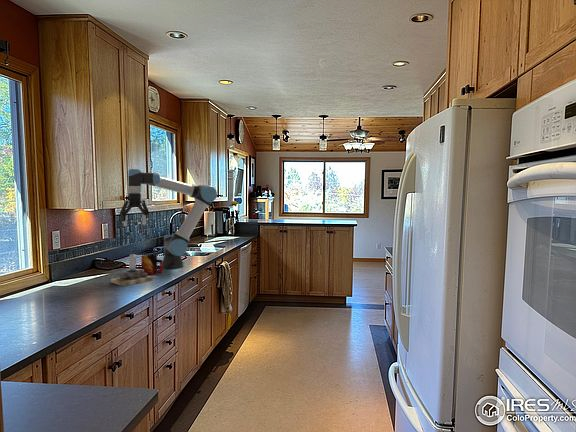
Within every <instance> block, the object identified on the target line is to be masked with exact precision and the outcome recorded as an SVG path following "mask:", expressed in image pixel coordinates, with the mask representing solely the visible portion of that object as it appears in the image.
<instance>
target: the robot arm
mask: <svg viewBox="0 0 576 432" xmlns="http://www.w3.org/2000/svg"><path fill="white" fill-rule="evenodd" d="M127 176H128V177H127V178H128V181H127V182H128V183H127V184H128V200H126V199H125V200H124V201H123V205H122V207H121V210H120V212H119V215H120V216H122V221H123V226H124V227H128V214H129V212H130V211H131V209H132V208H138V209H139V211H140V212H141V214H142V215H141V216H142V218H141V219H142V220H141V221H142V223H141V224H142V225H143V226H147V225H146V224H147V218H148V215H150V212H149V209H148V206H147V205H146V200H145V199H142V194H141V193H142V185H149V186H152V187H156V188H159V189H164V190H168V191H172V192H175V193H178V194H183V195H186V196H188V197H190V198H193V199H194V202H193V203H194V204H192V207H191V208H190V210H189V212H188V214H187V215H186V217H185V218H184V221H183V223H182V224H181V226H180V228H179V229H178V231H176V232H174V233H173V234H166V235H164V237H163V258H162V269H179V268H182V267H184V262H183V257H182V255H184V254H185V253H186V252H187V251H188V245H189V243H190V241H191V240H190V236H191V235H192V234H193V231H194V230H195V228H196V226H197V225H198V223H199V221H200V220H201V218H202V216H203V214H204V212H206V211H205V210H206V209H207V208H209V207H211V204H212V203H213V202H214V201H215V200H216V199H217V196H218V191H217V189H216V188H215V187H214V186H213V185H210V184H206V185H205V184H204V185H198V184H195V183H193V184H188V183H185V182H182V181H177V180H174V179H170V178H166V177H162V176H161V175H160V173H158V172H142V170H141V169H140V168H139V169H138V168H130V169H128V175H127ZM141 199H142V200H141Z"/></svg>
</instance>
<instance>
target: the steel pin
mask: <svg viewBox="0 0 576 432" xmlns="http://www.w3.org/2000/svg"><path fill="white" fill-rule="evenodd" d="M128 259H129V261H128V262H129V265H128V266H129V267H128V271H129V272H130V273H132V272H136V270H137V269H136V268H137V254H134V253H133V254H129V258H128Z"/></svg>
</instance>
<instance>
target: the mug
mask: <svg viewBox="0 0 576 432" xmlns="http://www.w3.org/2000/svg"><path fill="white" fill-rule="evenodd" d="M162 261H163V259H158V255H156V254H143V255H141V269H144V273H148V276H155V275H157V274H163V268H162ZM158 263H159V270H158Z"/></svg>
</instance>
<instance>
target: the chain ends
mask: <svg viewBox="0 0 576 432" xmlns="http://www.w3.org/2000/svg"><path fill="white" fill-rule="evenodd" d="M153 278H154V277H153V276H152V275H148V273H144V269H142V268H141V269H136V272H132V273H130V272H129V270H125V271H117V272H115V278H110V283H111V284H116V285H119V286H122V287H123V286H124V287H126V286H131V285H136V284H141V283H146V282H151V281H154V279H153Z"/></svg>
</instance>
